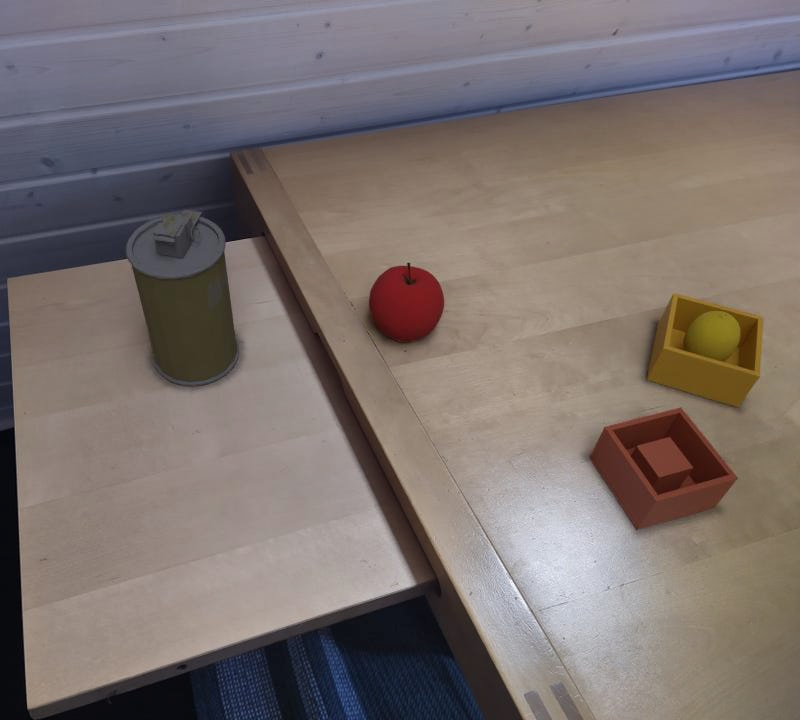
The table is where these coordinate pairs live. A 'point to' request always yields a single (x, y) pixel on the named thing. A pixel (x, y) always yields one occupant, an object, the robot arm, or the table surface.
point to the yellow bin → (701, 372)
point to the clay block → (662, 464)
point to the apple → (406, 303)
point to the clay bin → (632, 485)
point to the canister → (185, 296)
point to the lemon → (713, 335)
